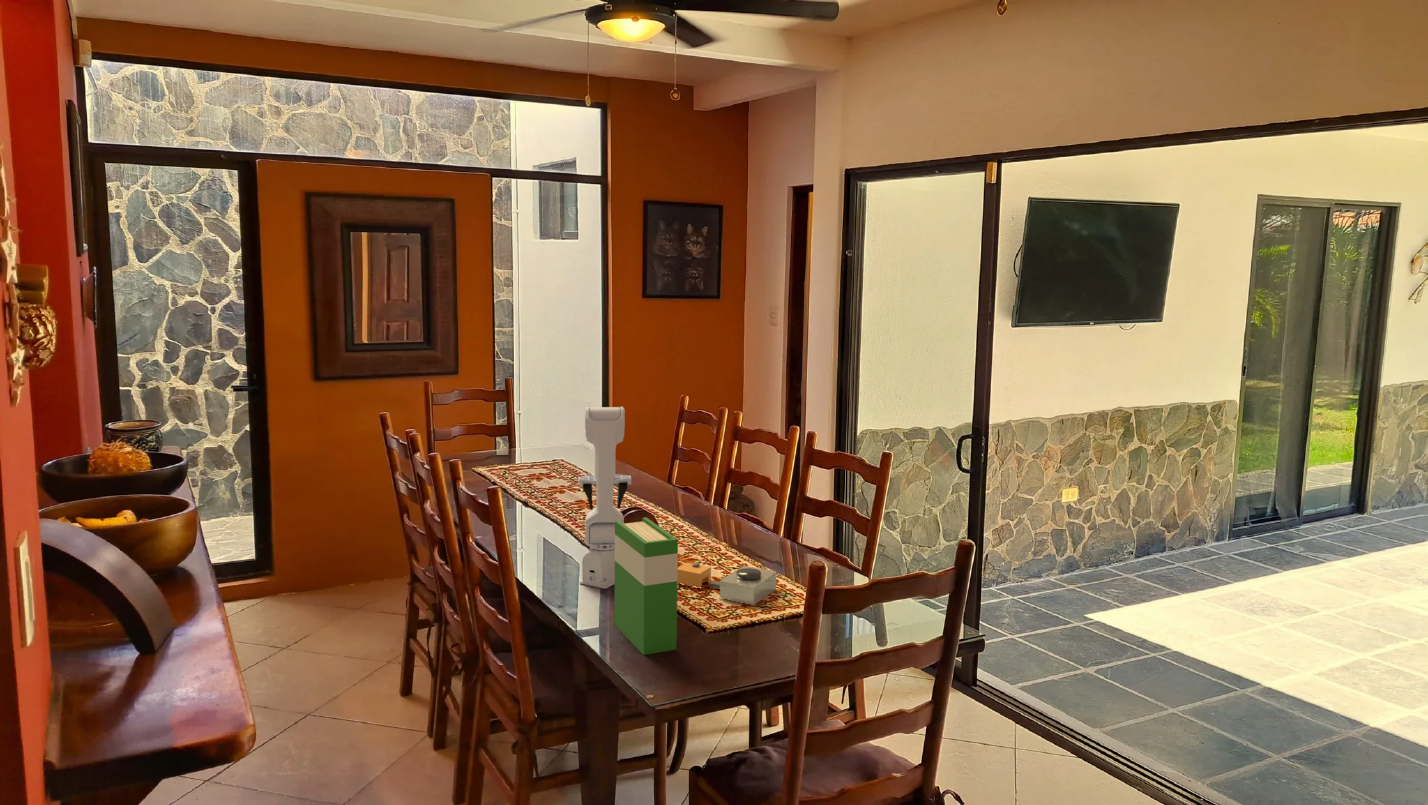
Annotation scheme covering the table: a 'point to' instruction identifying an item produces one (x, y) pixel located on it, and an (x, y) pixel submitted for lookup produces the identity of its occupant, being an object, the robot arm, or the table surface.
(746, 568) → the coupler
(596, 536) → the robot arm
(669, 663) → the table surface
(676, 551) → the hardback book
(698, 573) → the lock block
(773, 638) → the table surface
